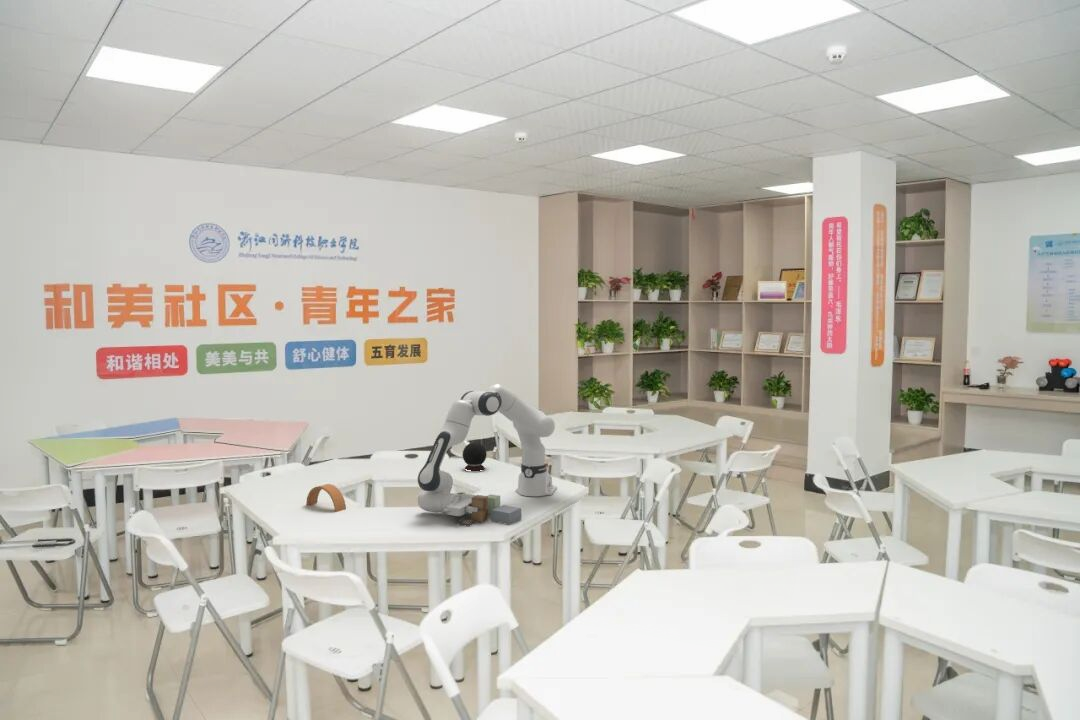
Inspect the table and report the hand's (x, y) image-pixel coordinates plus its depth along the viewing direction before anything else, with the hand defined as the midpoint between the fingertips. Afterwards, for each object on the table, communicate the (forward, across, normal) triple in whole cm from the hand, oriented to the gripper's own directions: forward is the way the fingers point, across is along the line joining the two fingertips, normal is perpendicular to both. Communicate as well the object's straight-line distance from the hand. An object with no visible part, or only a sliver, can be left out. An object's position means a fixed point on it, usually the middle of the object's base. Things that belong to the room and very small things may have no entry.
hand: (481, 507), depth 307 cm
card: (-4, -6, +6) cm, 9 cm away
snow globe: (-48, +84, +6) cm, 97 cm away
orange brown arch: (-74, -9, +6) cm, 75 cm away
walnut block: (-1, 0, +6) cm, 6 cm away
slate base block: (+9, +5, +6) cm, 12 cm away
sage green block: (0, +10, +6) cm, 11 cm away
